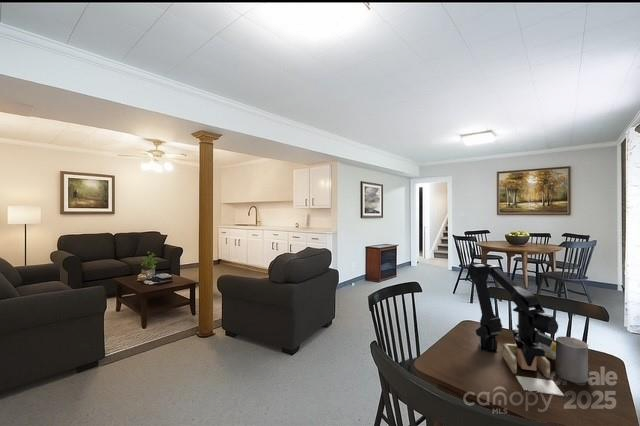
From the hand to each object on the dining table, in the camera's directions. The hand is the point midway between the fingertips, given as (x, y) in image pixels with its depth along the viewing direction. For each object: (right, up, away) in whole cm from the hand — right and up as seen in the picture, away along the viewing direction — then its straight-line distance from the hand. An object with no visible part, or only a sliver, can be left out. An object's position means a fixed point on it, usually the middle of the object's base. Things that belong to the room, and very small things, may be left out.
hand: (526, 362), depth 121 cm
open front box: (0, -3, +1) cm, 3 cm away
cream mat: (-4, -3, -11) cm, 12 cm away
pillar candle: (+14, -3, -6) cm, 15 cm away
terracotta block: (0, -2, 0) cm, 2 cm away
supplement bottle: (+18, 0, +9) cm, 20 cm away
